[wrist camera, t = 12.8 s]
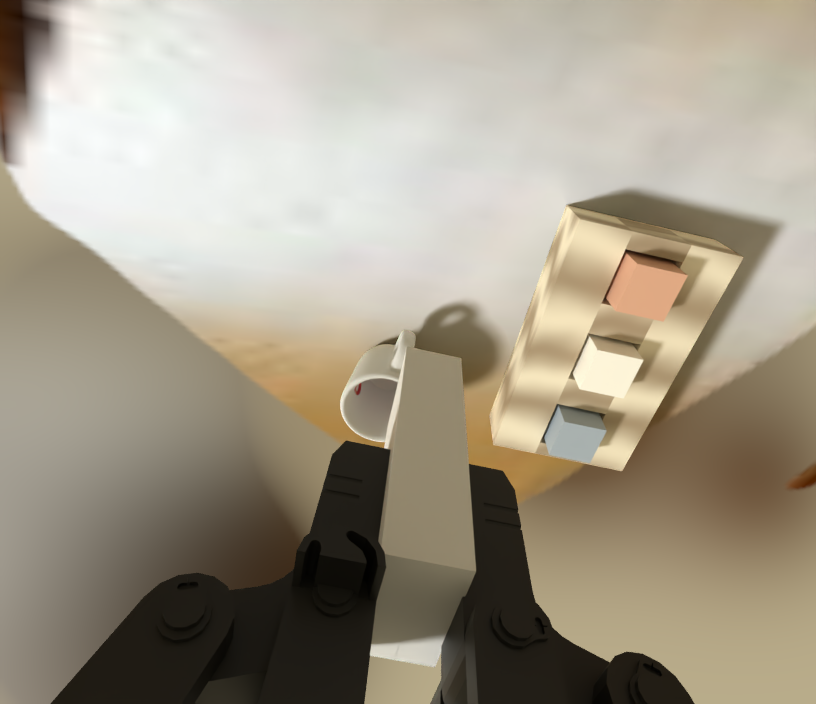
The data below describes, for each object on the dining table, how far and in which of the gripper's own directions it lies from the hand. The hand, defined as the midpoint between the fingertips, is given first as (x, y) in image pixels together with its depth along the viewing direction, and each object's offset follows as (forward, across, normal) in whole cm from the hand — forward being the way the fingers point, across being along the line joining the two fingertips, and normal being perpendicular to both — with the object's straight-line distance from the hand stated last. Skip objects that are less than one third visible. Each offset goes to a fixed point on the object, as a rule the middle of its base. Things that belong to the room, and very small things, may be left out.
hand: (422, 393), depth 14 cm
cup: (+35, 0, -19) cm, 39 cm away
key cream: (+32, +19, -12) cm, 39 cm away
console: (+34, +19, -12) cm, 41 cm away
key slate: (+32, +19, -20) cm, 42 cm away
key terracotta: (+32, +19, -4) cm, 37 cm away
